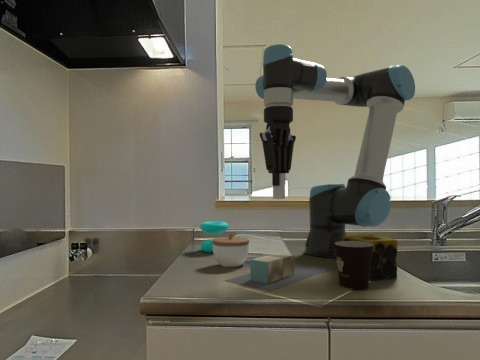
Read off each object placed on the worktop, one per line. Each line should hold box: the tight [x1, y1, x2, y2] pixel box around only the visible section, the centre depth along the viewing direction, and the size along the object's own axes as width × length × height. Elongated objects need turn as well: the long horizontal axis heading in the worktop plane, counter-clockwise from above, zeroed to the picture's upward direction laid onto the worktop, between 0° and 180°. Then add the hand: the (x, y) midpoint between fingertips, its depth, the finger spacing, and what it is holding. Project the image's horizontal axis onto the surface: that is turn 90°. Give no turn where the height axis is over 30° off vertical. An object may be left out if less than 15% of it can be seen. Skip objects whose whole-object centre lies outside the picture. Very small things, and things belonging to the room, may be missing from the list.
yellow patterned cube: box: [342, 233, 398, 282], centre depth 101 cm, size 10×10×10 cm
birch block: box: [249, 252, 296, 283], centre depth 98 cm, size 5×5×12 cm
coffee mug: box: [335, 241, 373, 292], centre depth 92 cm, size 12×9×10 cm
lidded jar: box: [211, 233, 250, 268], centre depth 113 cm, size 11×11×9 cm
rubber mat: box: [224, 262, 332, 292], centre depth 101 cm, size 28×14×1 cm, turn 138°
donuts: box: [199, 220, 229, 253], centre depth 137 cm, size 10×10×10 cm
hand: (279, 198), depth 100 cm, fingers closed
